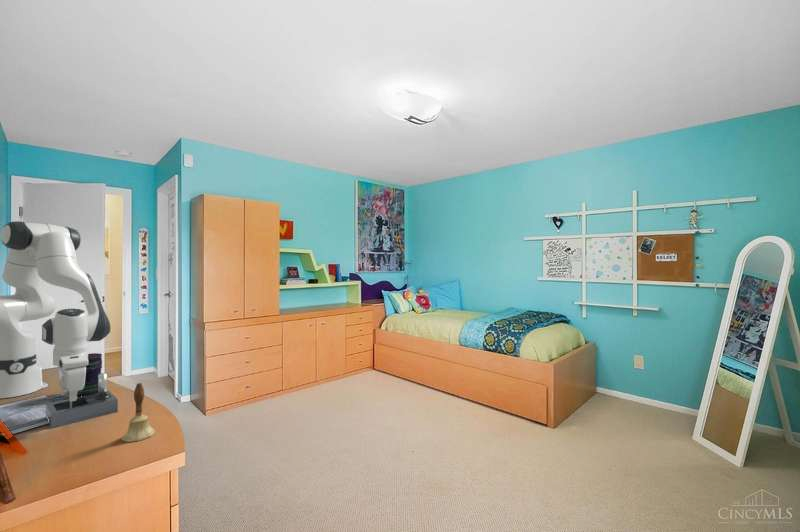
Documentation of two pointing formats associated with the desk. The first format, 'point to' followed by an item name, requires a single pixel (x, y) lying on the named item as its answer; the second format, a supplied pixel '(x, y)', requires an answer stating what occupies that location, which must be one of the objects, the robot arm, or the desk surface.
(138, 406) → the hand bell
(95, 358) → the storage jar
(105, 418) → the desk surface
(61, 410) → the grey stand
